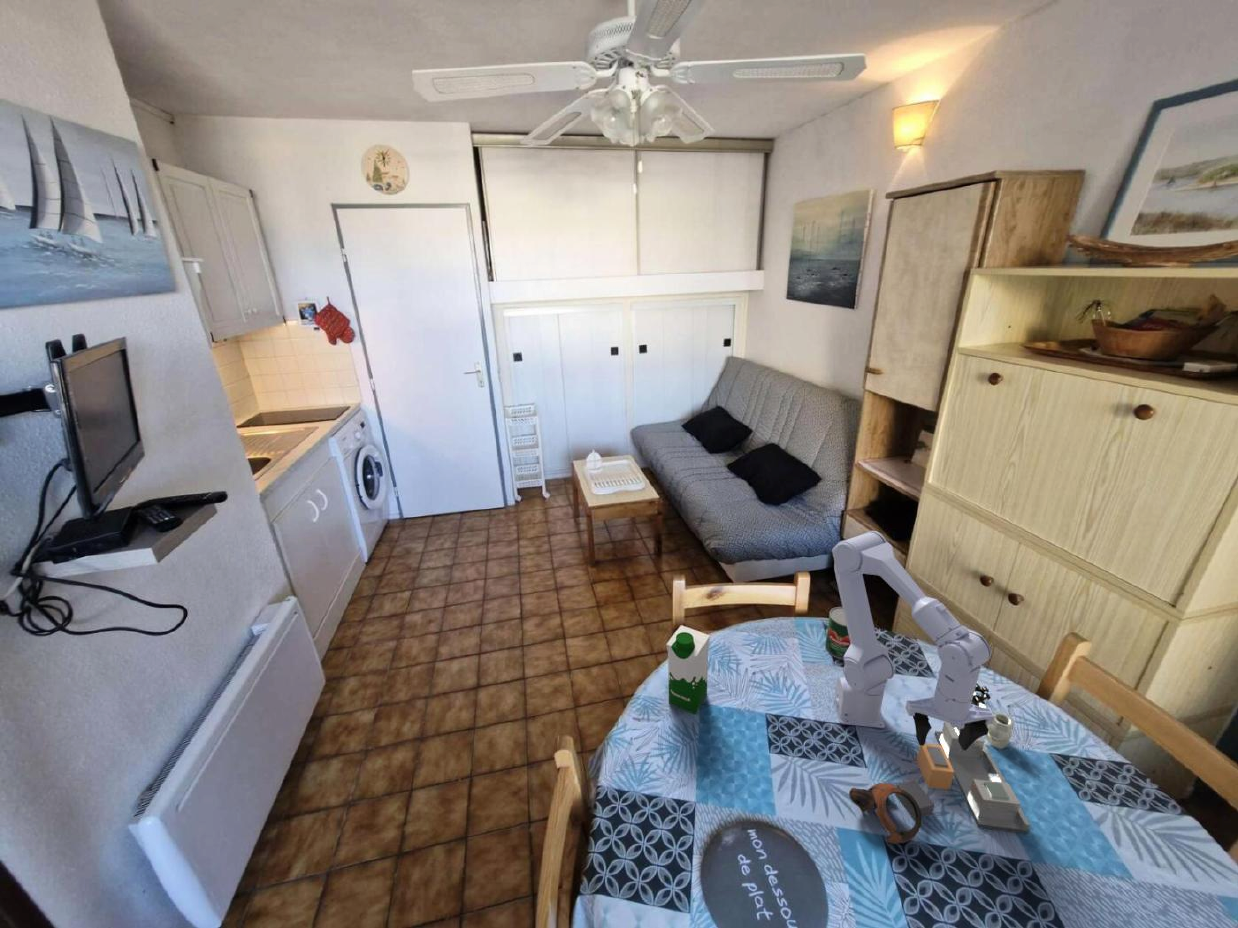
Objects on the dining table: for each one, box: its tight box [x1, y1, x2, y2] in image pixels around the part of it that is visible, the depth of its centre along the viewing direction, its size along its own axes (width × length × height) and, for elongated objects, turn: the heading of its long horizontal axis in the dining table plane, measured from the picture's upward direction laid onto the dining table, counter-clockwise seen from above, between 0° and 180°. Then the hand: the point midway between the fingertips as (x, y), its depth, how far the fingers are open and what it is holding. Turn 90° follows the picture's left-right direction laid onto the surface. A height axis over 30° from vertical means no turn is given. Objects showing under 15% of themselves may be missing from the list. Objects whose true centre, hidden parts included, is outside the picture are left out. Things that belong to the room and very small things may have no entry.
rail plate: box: [934, 721, 1031, 835], centre depth 100 cm, size 8×20×6 cm, turn 170°
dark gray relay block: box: [894, 779, 936, 820], centre depth 97 cm, size 4×5×3 cm
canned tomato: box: [824, 606, 851, 661], centre depth 134 cm, size 8×8×11 cm
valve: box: [971, 683, 1015, 750], centre depth 111 cm, size 7×7×12 cm
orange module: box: [916, 742, 955, 791], centre depth 102 cm, size 4×6×5 cm, turn 170°
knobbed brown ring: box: [848, 782, 923, 845], centre depth 94 cm, size 12×10×8 cm
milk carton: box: [666, 624, 711, 715], centre depth 120 cm, size 9×9×20 cm
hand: (940, 743), depth 99 cm, fingers open, 7 cm apart
